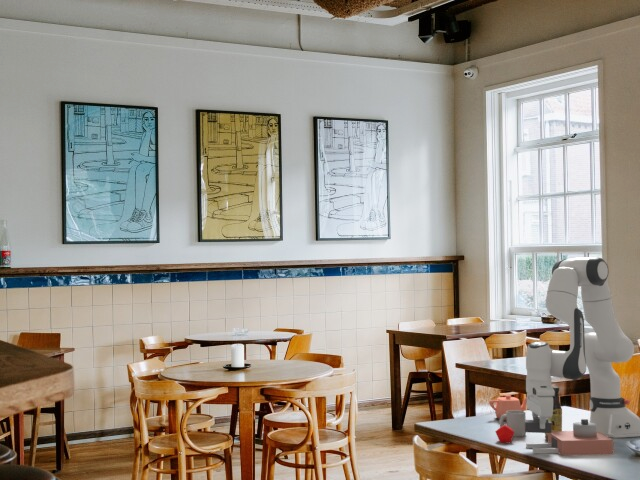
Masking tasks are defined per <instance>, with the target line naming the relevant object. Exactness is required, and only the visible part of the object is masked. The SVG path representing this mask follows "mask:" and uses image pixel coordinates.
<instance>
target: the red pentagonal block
mask: <svg viewBox="0 0 640 480" xmlns="http://www.w3.org/2000/svg"><path fill="white" fill-rule="evenodd" d="M495 434H496V436H497V439H498V440H499V442H500V443H501V444H510V443H511V442H512V440H513V438H514V437H513V435H514V431H513V430H512V429H511V428H510V427H508V426H507V424H504V426H502V427H500V426H499V427H498V429H497V430H495ZM509 442H510V443H509Z"/></svg>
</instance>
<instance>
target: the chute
mask: <svg viewBox="0 0 640 480" xmlns="http://www.w3.org/2000/svg"><path fill="white" fill-rule="evenodd" d="M539 423H540V419H539V417H533V416H532V419H526V420H524V430H525V432H526V433H533V434H534V433H535V434H537V433H539V434H540V433H541V434H545V433H552V425H551V421H548V418H546V423H545V429H540V428H539Z"/></svg>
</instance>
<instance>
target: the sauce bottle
mask: <svg viewBox="0 0 640 480" xmlns="http://www.w3.org/2000/svg"><path fill="white" fill-rule="evenodd" d="M552 387H553V389H554V391H555V395H554V396H552V397H553V415H552V418H548V421H551V425H552V431H563V408H562V406H561V402H560V398H559V396H560V395H559V392H560V387H559V386H554V385H552ZM544 435H545V436H544V438H545V440H546V441H548V433H544Z"/></svg>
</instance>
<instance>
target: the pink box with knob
mask: <svg viewBox="0 0 640 480" xmlns="http://www.w3.org/2000/svg"><path fill="white" fill-rule="evenodd" d="M589 422H590V421H589V419H588V418H587V419H586V418H581V419H580V421H577V422H573V423H572V429H573V430H565V431H564V430H562V431H552V433H548V440H547V442H540V443H539V442H538V443H537V442H536V443H534V442H533V443H531V442H529V443H525V445H526V446H525V447H526V449H532V454H559V455H561V456H583V455H584V456H585V455H587V456H588V455H589V456H591V455H594V456H595V455H600V456H601V455H614V440H613V438H612V437H607V436H605V435H603V434H601V433H600V432H598V431H597V425H596V424H595V423H589Z"/></svg>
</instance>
